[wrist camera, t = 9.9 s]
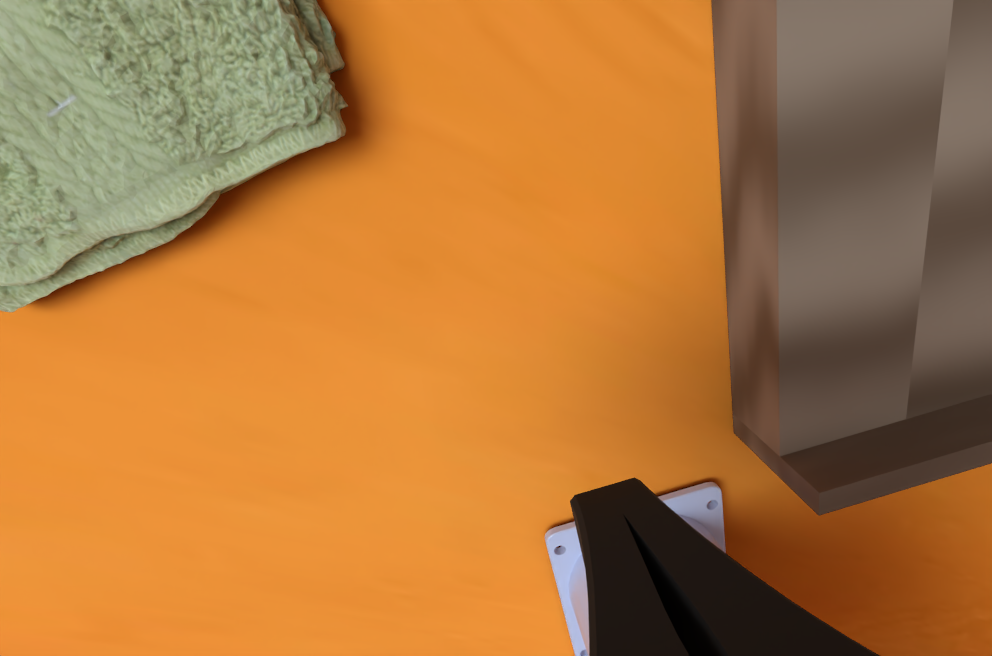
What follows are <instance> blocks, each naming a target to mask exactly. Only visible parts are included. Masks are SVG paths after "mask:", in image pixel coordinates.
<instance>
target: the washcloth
mask: <svg viewBox="0 0 992 656" xmlns="http://www.w3.org/2000/svg"><path fill="white" fill-rule="evenodd" d="M335 37H336V33H335V32H334V31H333V30H332V28H331V25H330V23H329V21H328V19H327V17H326V15H325V14H324V13H323V11H322V10H321V8H320V6H319V5H318V3H317V1H316V0H0V310H1V311H5V312H14V311H16V310H17V309H18V308H21V307H24V306H26V305H27V304H30V303H32V302H33V301H35V300H37V299H40V298H42V297H45V296H48V295H49V294H50V293H51V292H53V291H55V290H57V289H59V288H61V287H63V286H65V285H67V284H70V283H72V282H74V281H75V280H77V279H83V278H85V277H86V276H88V275H92V274H94V273H96V272H100V271H104V270H105V269H106V268H109V267H111V266H114V265H117V264H121V263H123V262H124V261H126V260H128V259H130V258H131V257H134V256H137V255H140V254H143V253H145V252H147V251H149V250H150V249H153V248H155V247H158V246H160V245H163V244H165V243H167V242H170V241H171V240H173V239H175V238H176V236H177V235H178V234H180V233H181V232H183V231H184V230H186V229H188V228H189V227H191V226H192V225H193V224H194V223H195V222H196V221H198V220H199V219H200V218H202V217H203V216H204V215H205V214H206V213H207V211H208V210H209V209H210V208H211V207H212V205H213V204H214V203H215V202H216V200H217V199H218V198H219V195H220V194H222V193H224V192H227V191H229V190H231V189H233V188H234V187H236V186H238V185H240V184H242V183H244V182H246V181H248V180H249V179H251V178H253V177H255V176H256V175H258V174H261V173H262V172H264V171H266V170H268V169H270V168H273V167H275V166H277V165H279V164H281V163H283V162H285V161H287V160H288V159H290V158H292V157H294V156H296V155H298V154H300V153H304V152H306V151H308V150H310V149H313V148H317V147H320V146H322V145H324V144H326V143H330V142H333V141H336V140H337V139H339V138H340V137H342V136H345V133H346V127H345V125H344V122H343V120H342V118H341V114H340V110H341V109H342V108H345V107H348V105H347V103H346V102H345V101H344V99H343V97H342V96H341V94H340V93H339V92H338V91H337V90H336V89H335V83H334V82H333V81H332V80H331V79H330V75H329V74H330V73H333V72H335V71H338V70H341V69H343V68H344V65H345V63H344V61H343V60H342V57H341V55H340V52H339V50H338V48H337V46H336V44H335V41H334V39H335Z"/></svg>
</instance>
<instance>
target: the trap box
mask: <svg viewBox="0 0 992 656" xmlns="http://www.w3.org/2000/svg"><path fill="white" fill-rule="evenodd" d="M712 17H713V37H714V57H715V76H716V96H717V115H718V135H719V155H720V174H721V194H722V213H723V233H724V253H725V272H726V292H727V311H728V331H729V351H730V370H731V390H732V409H733V429H734V434H735V435H736V436H738V437H739V438H740V439H741V440H742V441H743V442H744V443H745V444H746V445H747V446H748V447H749V448H750V449H751V450H752V451H753V452H754V453H755V454H756V455H757V456H758V457H759V458H760V459H761V460H762V461H763V462H764V463H765V464H766V465H767V466H768V467H769V468H770V469H771V470H772V471H773V472H775V473H776V474H777V475H778V476H779V477H780V478H781V479H782V480H783V481H784V482H785V483H786V484H787V485H788V486H789V487H790V488H791V489H792V490H793V491H794V492H795V493H796V494H797V495H798V496H799V497H800V498H801V499H802V500H803V501H804V502H805V503H806V504H807V505H808V506H809V507H810V508H812V509H813V510H814V511H815V512H816V513H817V514H818V515H822V514H826V513H829V512H832V511H835V510H839V509H842V508H845V507H849V506H852V505H855V504H859V503H862V502H865V501H868V500H872V499H875V498H878V497H882V496H885V495H888V494H892V493H895V492H898V491H901V490H905V489H908V488H911V487H915V486H918V485H921V484H925V483H928V482H931V481H935V480H938V479H941V478H944V477H948V476H951V475H954V474H958V473H961V472H964V471H968V470H971V469H974V468H977V467H981V466H984V465H987V464H991V463H992V0H712Z"/></svg>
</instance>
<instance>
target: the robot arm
mask: <svg viewBox="0 0 992 656" xmlns="http://www.w3.org/2000/svg"><path fill="white" fill-rule="evenodd" d="M711 500H712V501H711ZM710 501H711V502H710ZM708 502H709V503H708ZM570 503H571V507H572V512H573V516H574V522H571V523H567V524H564V525H561V526H557V527H554V528H552V529H550V530H549V531H547V532H546V534H545V542H546V546H547V549H548V553H549V557H550V561H551V565H552V569H553V573H554V576H555V580H556V584H557V588H558V592H559V596H560V599H561V603H562V607H563V611H564V615H565V619H566V623H567V626H568V630H569V634H570V638H571V642H572V646H573V649H574V653H575V656H879V655H877V654H876V653H874V652H872V651H871V650H869V649H867V648H866V647H864V646H862V645H861V644H859V643H857V642H855V641H854V640H852V639H850V638H849V637H847V636H845V635H844V634H842V633H841V632H839V631H837V630H836V629H834V628H833V627H831V626H829V625H828V624H826V623H825V622H823V621H821V620H820V619H818V618H817V617H815V616H814V615H812V614H810V613H809V612H807V611H806V610H804V609H803V608H801V607H800V606H798V605H797V604H795V603H794V602H792V601H791V600H789V599H788V598H786V597H785V596H783V595H782V594H781V593H779V592H778V591H776V590H775V589H773V588H772V587H771V586H769V585H768V584H766V583H765V582H764V581H762V580H761V579H759V578H758V577H757V576H755V575H754V574H752V573H751V572H750V571H748V570H747V569H746V568H744V567H743V566H741V565H740V564H739V563H737V562H736V561H735V560H733V559H732V558H731V557H730V556H728V555H727V554H726V548H725V533H724V518H723V503H722V492H721V489H720V488H719V487H718V485H717V484H716V483H714V482H706V483H702V484H699V485H696V486H692V487H689V488H686V489H682V490H679V491H675V492H672V493H669V494H665V495H662V496H659V497H657V496H656V495H655V494H654V493H653V492H652V491H651V490H650V489H648V488H647V487H646V486H645V485H644V484H643V483H642V482H641V481H640V480H638V479H636V478H632V479H628V480H625V481H621V482H618V483H615V484H611V485H608V486H604V487H601V488H597V489H594V490H591V491H587V492H584V493H580V494H577V495H575V496H574V497H573V498H572V500H571V501H570ZM558 546H561V547H559V548H556V547H558Z"/></svg>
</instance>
